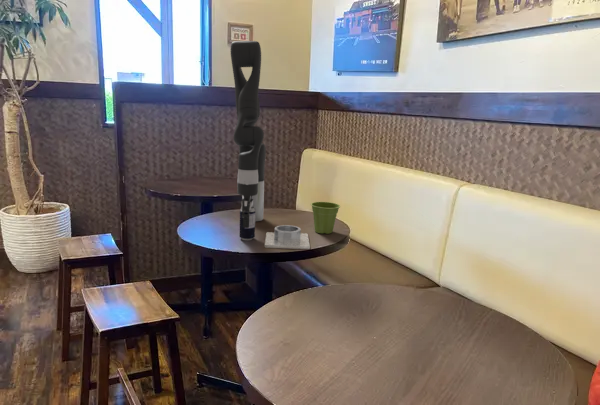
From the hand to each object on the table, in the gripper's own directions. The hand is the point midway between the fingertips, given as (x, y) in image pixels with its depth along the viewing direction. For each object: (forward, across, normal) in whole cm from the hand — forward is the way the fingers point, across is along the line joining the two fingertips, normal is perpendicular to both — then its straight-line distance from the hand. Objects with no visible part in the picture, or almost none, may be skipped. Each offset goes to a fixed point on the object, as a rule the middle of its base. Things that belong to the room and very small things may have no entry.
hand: (246, 224), depth 169 cm
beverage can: (+6, 0, 0) cm, 6 cm away
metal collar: (+6, +2, +15) cm, 16 cm away
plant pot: (+6, -13, +30) cm, 33 cm away
